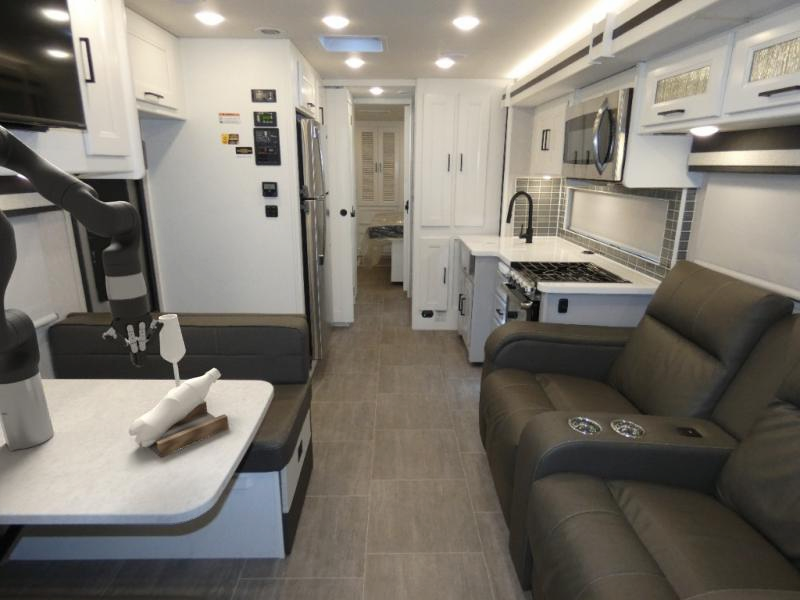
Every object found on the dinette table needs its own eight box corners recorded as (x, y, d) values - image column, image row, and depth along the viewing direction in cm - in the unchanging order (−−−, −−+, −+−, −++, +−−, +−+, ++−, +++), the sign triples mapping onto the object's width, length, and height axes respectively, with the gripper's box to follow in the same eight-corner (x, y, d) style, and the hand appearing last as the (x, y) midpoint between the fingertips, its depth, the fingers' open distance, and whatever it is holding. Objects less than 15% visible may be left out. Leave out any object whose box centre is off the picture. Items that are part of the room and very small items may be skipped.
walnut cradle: (161, 457, 110) (159, 444, 109) (139, 436, 118) (137, 424, 117) (228, 428, 122) (227, 416, 121) (204, 411, 131) (203, 400, 130)
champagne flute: (189, 385, 147) (179, 311, 140) (192, 393, 141) (181, 317, 134) (166, 390, 143) (154, 315, 137) (168, 399, 138) (155, 321, 131)
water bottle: (143, 438, 108) (224, 370, 125) (122, 423, 110) (205, 357, 127) (150, 454, 113) (228, 386, 130) (129, 439, 115) (209, 374, 132)
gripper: (151, 285, 111) (162, 353, 116) (88, 296, 102) (102, 370, 107) (165, 290, 107) (175, 361, 111) (99, 302, 97) (114, 379, 102)
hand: (140, 365), depth 109 cm, fingers closed
